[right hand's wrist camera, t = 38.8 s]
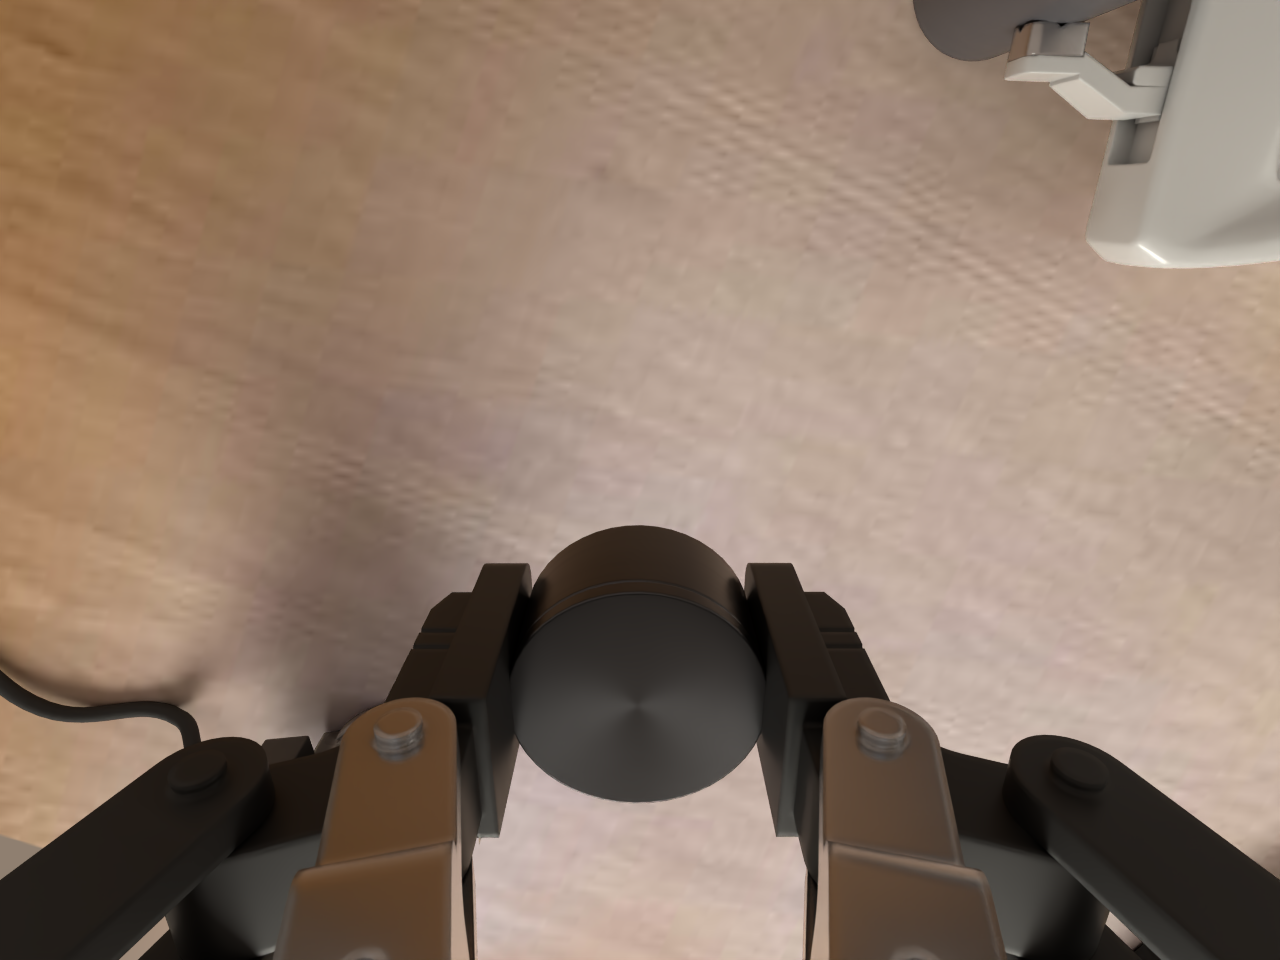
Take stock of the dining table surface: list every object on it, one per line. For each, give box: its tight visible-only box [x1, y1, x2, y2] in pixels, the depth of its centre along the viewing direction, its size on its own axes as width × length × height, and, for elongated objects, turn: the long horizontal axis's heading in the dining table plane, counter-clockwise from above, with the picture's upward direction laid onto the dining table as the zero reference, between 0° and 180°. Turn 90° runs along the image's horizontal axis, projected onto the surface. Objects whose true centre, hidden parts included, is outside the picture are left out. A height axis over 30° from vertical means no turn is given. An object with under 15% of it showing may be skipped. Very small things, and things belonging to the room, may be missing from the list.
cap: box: [510, 525, 766, 803], centre depth 11 cm, size 4×4×2 cm
